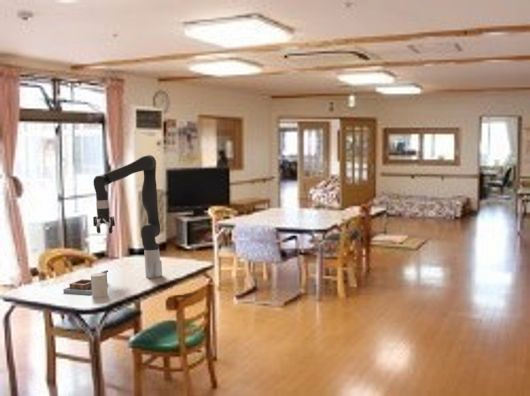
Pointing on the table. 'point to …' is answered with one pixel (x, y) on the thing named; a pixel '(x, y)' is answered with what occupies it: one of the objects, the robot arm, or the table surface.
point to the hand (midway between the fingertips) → (104, 233)
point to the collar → (81, 285)
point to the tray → (78, 291)
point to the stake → (105, 272)
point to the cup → (99, 285)
